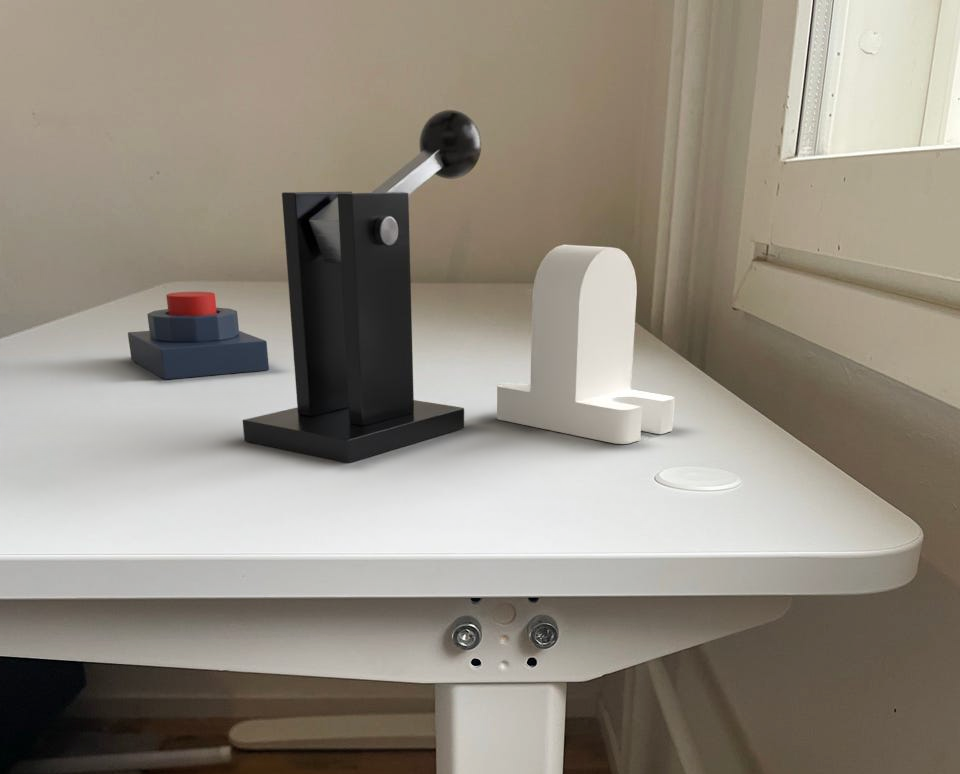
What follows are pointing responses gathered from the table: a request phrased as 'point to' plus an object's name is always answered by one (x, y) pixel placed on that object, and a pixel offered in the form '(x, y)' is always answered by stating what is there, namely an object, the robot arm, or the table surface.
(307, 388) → the bracket
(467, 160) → the lever
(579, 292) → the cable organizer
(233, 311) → the switch box
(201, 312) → the stop button
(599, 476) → the table surface
